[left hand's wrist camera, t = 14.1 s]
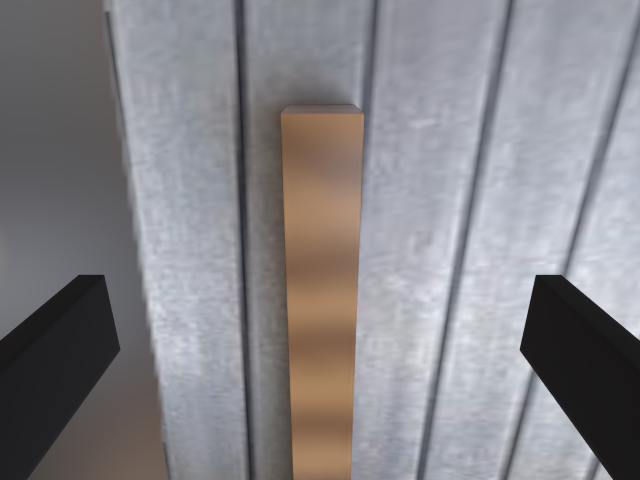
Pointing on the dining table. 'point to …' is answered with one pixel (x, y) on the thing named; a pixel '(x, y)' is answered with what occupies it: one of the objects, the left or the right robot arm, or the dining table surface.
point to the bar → (322, 280)
